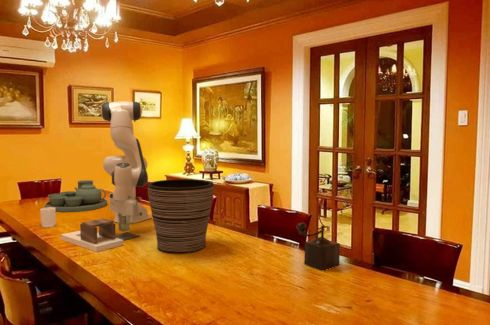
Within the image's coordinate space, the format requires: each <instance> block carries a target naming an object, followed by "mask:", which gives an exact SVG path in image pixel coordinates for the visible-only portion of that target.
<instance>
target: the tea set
mask: <svg viewBox="0 0 490 325" xmlns="http://www.w3.org/2000/svg"><path fill="white" fill-rule="evenodd" d="M74 190H75V191H74ZM74 190H71V191H70V190H69V191H62V192H59V193H51V194H48V195H47V198H48V200H49V201H46V203H44V208H47V207H54V208H56V213H76V212H79V213H80V212H86V211H87V212H88V211H94V210H97V209H98V210H99V209H102V208H104V207H105V206H107V204H108V200H107V199H106V196H107V193H106V191H105V189H103V188H97V187H96V185H94V180H92V179H86V180H85V179H84V180H83V179H82V180H77V186H74ZM102 192H103V193H104V194H103V197H102Z"/></svg>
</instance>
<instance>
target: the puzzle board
mask: <svg viewBox="0 0 490 325" xmlns="http://www.w3.org/2000/svg"><path fill="white" fill-rule="evenodd" d="M60 239H61V241H65V242H67V243H70V244H72V245H76V246H78V247H81V248H83V249H87V250H89V251H92V252H95V253H98V252H103V251H106V250H107V251H108V250H110V249H114V248H117V247H118V248H119V247H121V246H124V241H123V240H122V239H118V238H116V239H111V238H107V237H104V236H101V235H99V231H97V242H98V243H95V244H94V243H91V242H88V241H85V240H82V239H81V233H80V230H76V231H72V232H67V233H62V234H60Z"/></svg>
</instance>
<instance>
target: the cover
mask: <svg viewBox="0 0 490 325" xmlns="http://www.w3.org/2000/svg"><path fill="white" fill-rule="evenodd" d="M79 228H80V230H79V231H80V233H81V239H82V240H85V241H88V242H91V243H94V244H95V243H98V242H97V232H98V233H99V235H101V236H104V237H107V238H111V239H116V235H117V234H116V223H115V222H114V220H110V219H106V218H98V219H93V220H88V221H83V222H81V223H80V227H79Z"/></svg>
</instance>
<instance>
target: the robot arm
mask: <svg viewBox="0 0 490 325" xmlns="http://www.w3.org/2000/svg"><path fill="white" fill-rule="evenodd" d="M142 114H143V108H142V106H141V103H139V102H137V101H126V100H121V101H107V102H104V103H103V104H102V105H101V107H100V115H101V117H102V119H103V120H104V121H107V122H110V125H109V126H110V137H111V141H112V142H113V143H114V146H115V147H116V148H117V149H118V150H121V151H122V152H123V154H124V155H123V154H121V155H118V154H117V155H110V156H109V155H108V156H106V157H105V158H104V160H103V161H102V167H103V170H104V171H105V172H106V173H107V174H108V175H109V176H110V177H111V184H112V185H113V186H114V189H113V190H114V192H111V193H109V194H108V198H109V201H108V202H109V203H108V204H109V205H108V206H109V210H110V212H112V213H115V216H114V220H113V223H118V224H119V222H118V217H121V216H126V217H127V218H126V220H125V223H127V224H128V223H130V224H131V223H132V224H136V223H139V222H144V221H147V220H150V219H153V216H152V215H150V214H149V213H148V211H149V210H148V208H146V206H144V205H143V204H142V203H140V202H139V201H141V200H142V199H143V198H142V197H141V196H136V188H138V187H139V188H143V187H145V186H146V185H148V182H149V174H148V172H147V168H148V161H147V159H146V158H145V157H144V154H143V151H142V147H141V142H140V141H139V139H138V138H136V137H135V134H134V125H133V122H134V123H135V122H136V121H138V120H140V119H141V117H142Z"/></svg>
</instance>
